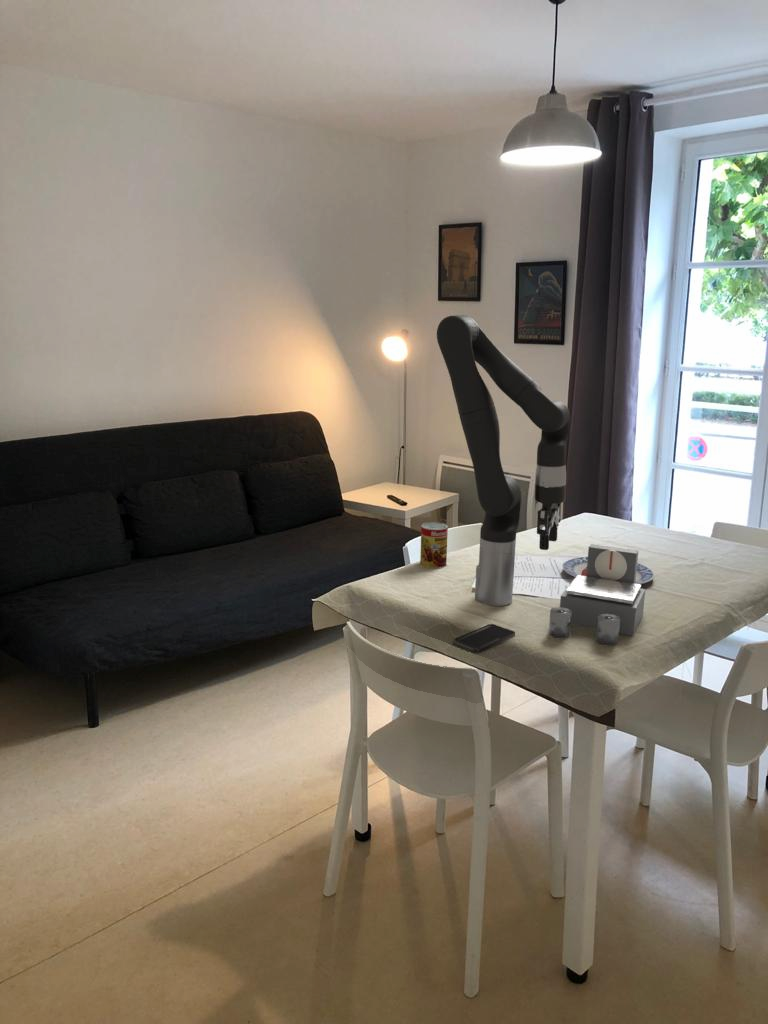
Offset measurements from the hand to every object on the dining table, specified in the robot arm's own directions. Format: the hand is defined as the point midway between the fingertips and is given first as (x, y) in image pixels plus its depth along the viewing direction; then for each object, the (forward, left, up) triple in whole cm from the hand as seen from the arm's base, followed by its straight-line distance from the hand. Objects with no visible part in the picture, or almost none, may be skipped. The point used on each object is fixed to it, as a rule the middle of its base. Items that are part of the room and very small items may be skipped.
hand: (548, 545), depth 210 cm
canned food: (-39, +21, -17) cm, 48 cm away
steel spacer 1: (+8, -15, -17) cm, 24 cm away
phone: (-7, -26, -18) cm, 32 cm away
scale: (+15, +1, -17) cm, 23 cm away
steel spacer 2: (+19, -14, -17) cm, 29 cm away
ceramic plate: (+10, +35, -18) cm, 40 cm away
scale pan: (+15, 0, -10) cm, 18 cm away
